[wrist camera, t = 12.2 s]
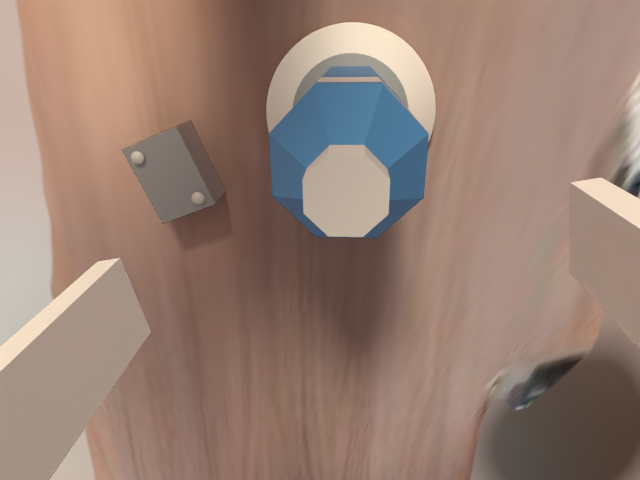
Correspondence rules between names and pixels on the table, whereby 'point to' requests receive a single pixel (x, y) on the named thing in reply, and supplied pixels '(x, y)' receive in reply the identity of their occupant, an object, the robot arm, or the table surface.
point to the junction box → (175, 172)
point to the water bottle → (348, 156)
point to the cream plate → (352, 50)
